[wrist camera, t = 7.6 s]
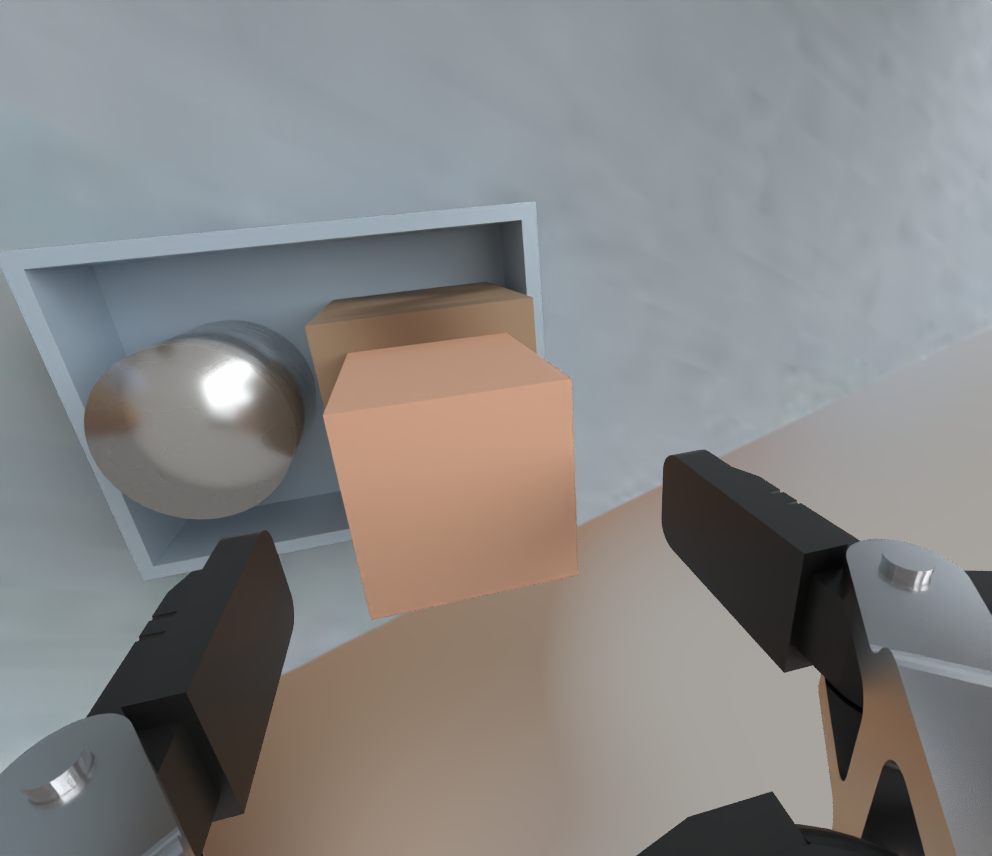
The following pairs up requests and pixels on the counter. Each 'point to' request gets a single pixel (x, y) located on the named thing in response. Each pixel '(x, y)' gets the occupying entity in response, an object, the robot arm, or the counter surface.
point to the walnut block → (414, 322)
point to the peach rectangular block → (454, 470)
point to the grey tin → (202, 419)
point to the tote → (259, 299)
